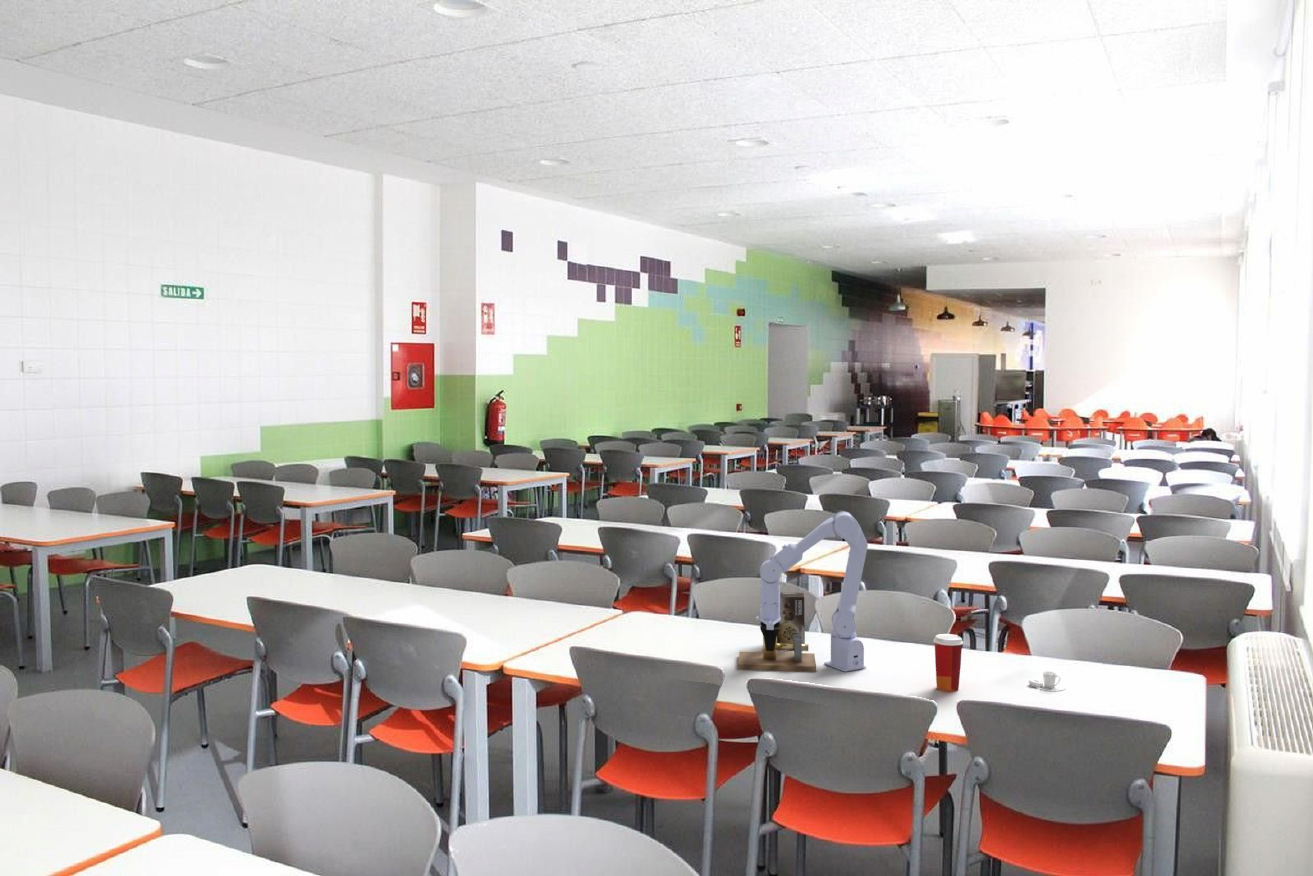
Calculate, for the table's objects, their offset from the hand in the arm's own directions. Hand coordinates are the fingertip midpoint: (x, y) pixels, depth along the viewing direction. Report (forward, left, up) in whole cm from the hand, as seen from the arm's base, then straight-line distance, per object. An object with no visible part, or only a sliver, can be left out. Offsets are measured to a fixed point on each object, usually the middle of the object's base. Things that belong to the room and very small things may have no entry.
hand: (769, 648), depth 300 cm
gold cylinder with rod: (-3, -4, -3) cm, 5 cm away
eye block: (-1, -2, -4) cm, 5 cm away
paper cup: (-43, -27, -5) cm, 51 cm away
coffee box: (+14, -17, -5) cm, 23 cm away
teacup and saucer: (-52, -53, -5) cm, 75 cm away
